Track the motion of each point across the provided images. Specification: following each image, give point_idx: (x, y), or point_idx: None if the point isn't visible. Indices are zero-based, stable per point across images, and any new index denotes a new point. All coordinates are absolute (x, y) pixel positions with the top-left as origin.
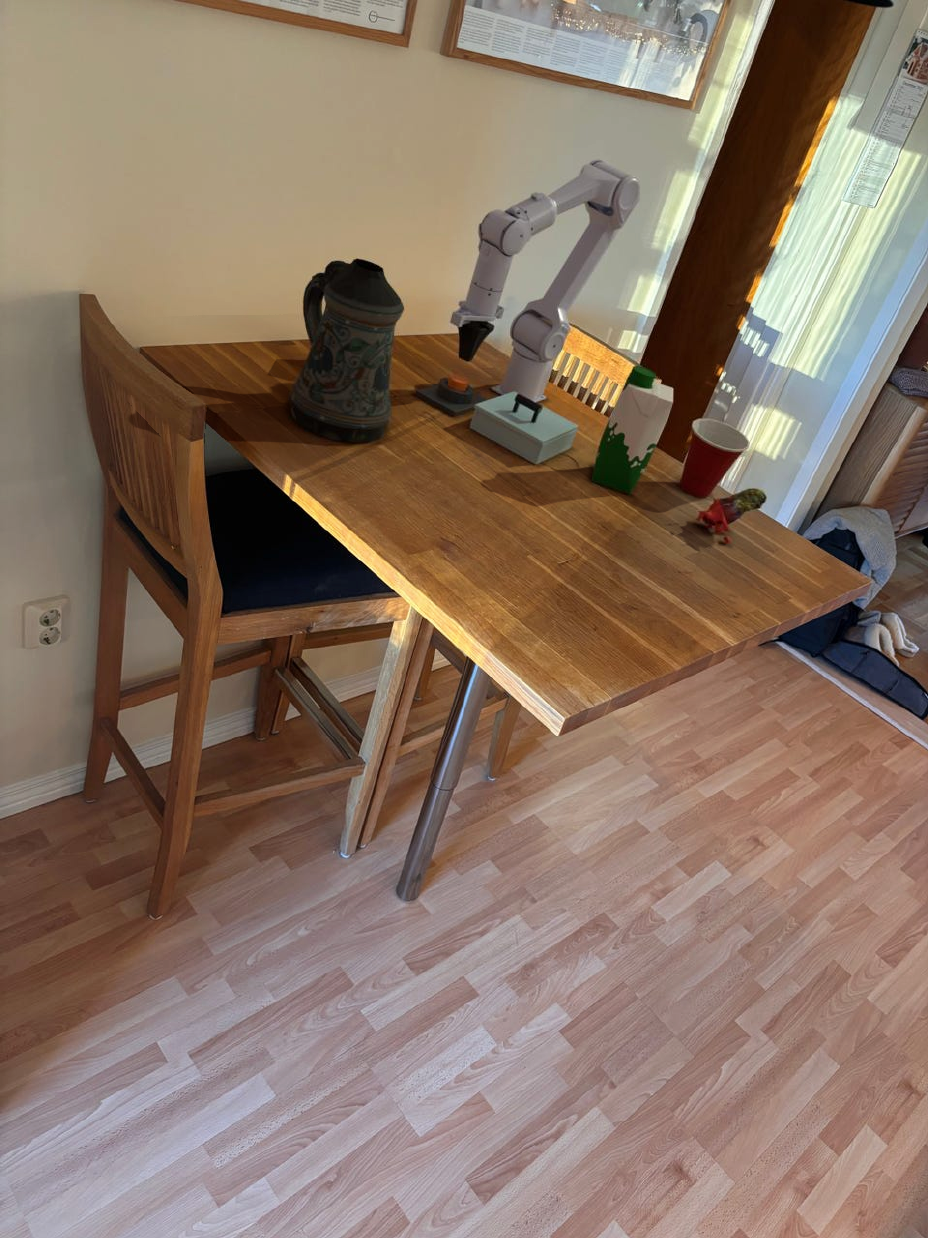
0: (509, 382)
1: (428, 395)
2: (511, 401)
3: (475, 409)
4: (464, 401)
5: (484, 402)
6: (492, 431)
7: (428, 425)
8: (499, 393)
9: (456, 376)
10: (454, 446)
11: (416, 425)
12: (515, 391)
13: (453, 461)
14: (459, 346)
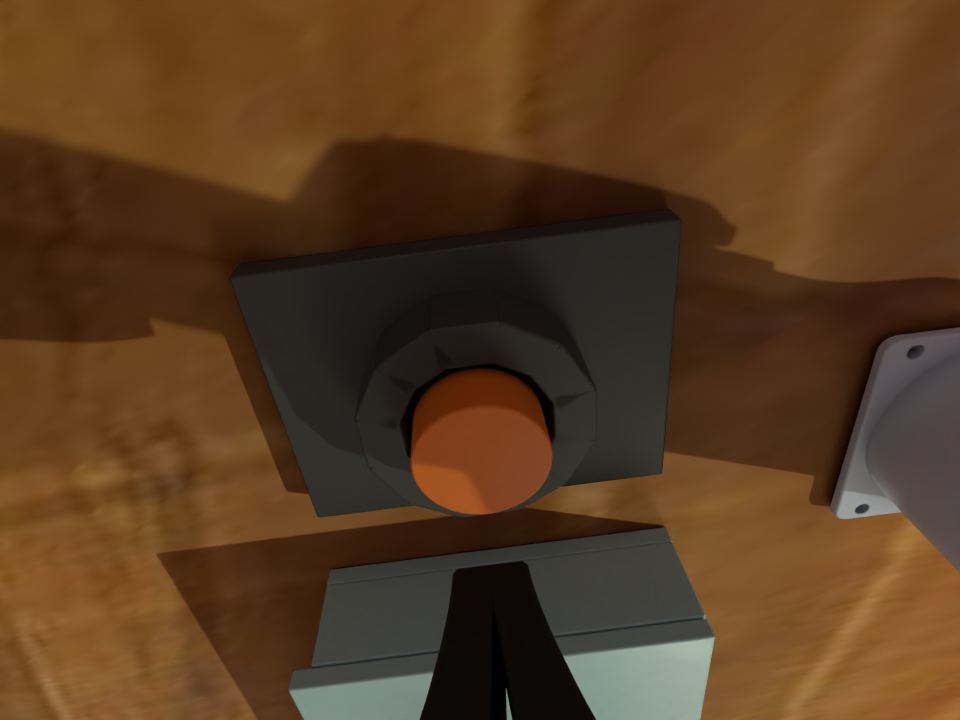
0: (930, 470)
1: (278, 351)
2: None
3: (313, 658)
4: None
5: (371, 687)
6: None
7: (103, 520)
8: (865, 392)
9: (496, 435)
10: (132, 642)
11: (26, 508)
12: (893, 487)
13: (54, 696)
14: (435, 668)
